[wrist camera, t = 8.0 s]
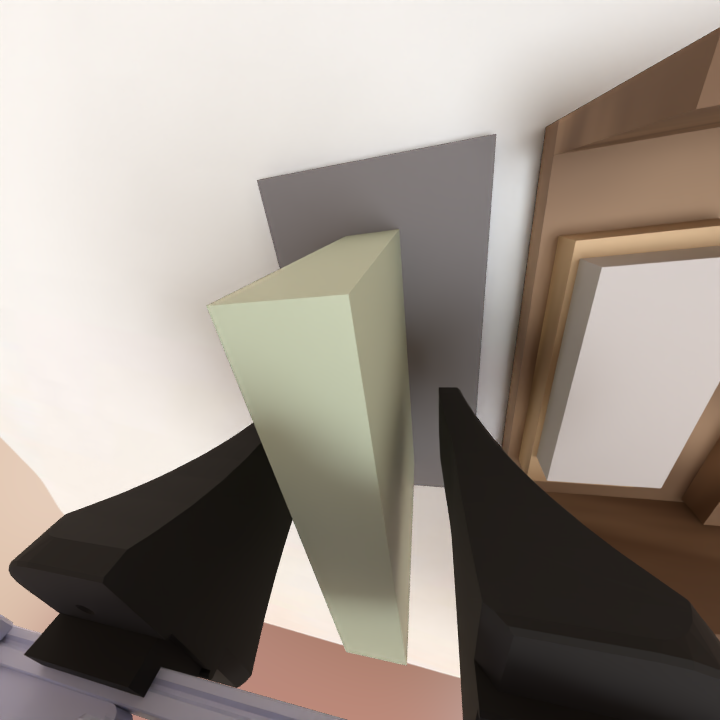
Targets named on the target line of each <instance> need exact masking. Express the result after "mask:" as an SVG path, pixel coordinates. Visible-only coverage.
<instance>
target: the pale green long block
mask: <svg viewBox="0 0 720 720" xmlns="http://www.w3.org/2000/svg"><path fill="white" fill-rule="evenodd" d="M207 309H208V311H209V314H210V316H211V319H212V321H213V324H214V326H215V328H216V331H217V333H218V336H219V338H220V341H221V343H222V346H223V348H224V351H225V353H226V356H227V358H228V361H229V363H230V366H231V368H232V371H233V373H234V376H235V378H236V380H237V383H238V385H239V388H240V390H241V393H242V395H243V398H244V400H245V403H246V405H247V408H248V410H249V413H250V415H251V418H252V420H253V423H254V425H255V427H256V430H257V432H258V435H259V437H260V440H261V442H262V445H263V447H264V450H265V452H266V455H267V457H268V460H269V462H270V465H271V467H272V470H273V472H274V474H275V477H276V479H277V482H278V484H279V487H280V489H281V492H282V494H283V497H284V499H285V502H286V504H287V507H288V509H289V512H290V514H291V517H292V519H293V522H294V524H295V526H296V529H297V531H298V534H299V536H300V539H301V541H302V544H303V546H304V549H305V551H306V554H307V556H308V559H309V561H310V564H311V566H312V569H313V571H314V573H315V576H316V578H317V581H318V583H319V586H320V588H321V591H322V593H323V596H324V598H325V601H326V603H327V606H328V608H329V611H330V613H331V616H332V618H333V620H334V623H335V625H336V628H337V630H338V633H339V635H340V638H341V640H342V643H343V645H344V648H345V650H346V652H349V653H354V654H358V655H362V656H367V657H371V658H376V659H380V660H385V661H389V662H393V663H398V664H402V665H407V646H408V620H409V594H410V568H411V541H412V515H413V489H414V449H413V434H412V418H411V403H410V387H409V371H408V356H407V340H406V325H405V309H404V294H403V278H402V263H401V247H400V232H399V229H396V230H389V231H381V232H374V233H366V234H358V235H351V236H345V237H343V238H341V239H339V240H337V241H335V242H333V243H331V244H329V245H327V246H325V247H323V248H321V249H319V250H317V251H315V252H313V253H311V254H309V255H307V256H305V257H303V258H301V259H299V260H297V261H295V262H293V263H291V264H289V265H287V266H285V267H283V268H281V269H279V270H277V271H275V272H273V273H271V274H269V275H267V276H265V277H263V278H261V279H259V280H257V281H255V282H253V283H251V284H249V285H247V286H245V287H243V288H241V289H239V290H237V291H235V292H233V293H231V294H229V295H227V296H225V297H223V298H221V299H219V300H217V301H215V302H213V303H211V304H209V305H207Z"/></svg>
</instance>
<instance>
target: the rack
mask: <svg viewBox="0 0 720 720" xmlns="http://www.w3.org/2000/svg"><path fill="white" fill-rule="evenodd" d="M716 218H720V28H718V29H716V30H714V31H713V32H711V33H709V34H707V35H706V36H704V37H702V38H700V39H699V40H697V41H695V42H693V43H692V44H690V45H688V46H686V47H685V48H683V49H681V50H680V51H678V52H676V53H674V54H673V55H671V56H669V57H667V58H666V59H664V60H662V61H660V62H659V63H657V64H655V65H653V66H652V67H650V68H648V69H646V70H645V71H643V72H641V73H639V74H638V75H636V76H634V77H632V78H631V79H629V80H627V81H625V82H624V83H622V84H620V85H618V86H617V87H615V88H613V89H612V90H610V91H608V92H606V93H605V94H603V95H601V96H599V97H598V98H596V99H594V100H592V101H591V102H589V103H587V104H585V105H584V106H582V107H580V108H578V109H577V110H575V111H573V112H571V113H570V114H568V115H566V116H564V117H563V118H561V119H559V120H557V121H556V122H554V123H552V124H550V125H549V126H547V127H546V130H545V137H544V145H543V152H542V159H541V166H540V174H539V181H538V188H537V196H536V203H535V210H534V218H533V225H532V232H531V239H530V247H529V254H528V261H527V269H526V276H525V283H524V290H523V298H522V305H521V312H520V320H519V327H518V334H517V341H516V349H515V356H514V363H513V371H512V378H511V385H510V393H509V400H508V407H507V414H506V422H505V429H504V436H503V444H502V449H503V450H504V451H505V452H506V454H507V455H508V456H509V457H510V458H511V459H512V460H513V461H514V462H515V463H516V464H517V465H518V466H519V467H520V468H521V469H522V467H521V464H520V462H519V454H520V449H521V443H522V438H523V432H524V426H525V421H526V415H527V410H528V404H529V399H530V393H531V388H532V382H533V376H534V371H535V365H536V360H537V354H538V349H539V343H540V337H541V332H542V326H543V321H544V315H545V310H546V304H547V299H548V293H549V287H550V282H551V276H552V271H553V265H554V260H555V254H556V248H557V243H558V237H559V236H563V235H572V234H581V233H590V232H599V231H608V230H617V229H626V228H635V227H644V226H653V225H662V224H671V223H680V222H689V221H698V220H707V219H716ZM534 482H535V483H536V484H537V485H538V486H539V487H540V488H541V489H543V490H544V491H545V492H546V493H547V494H548V495H549V496H550V497H551V498H553V499H554V500H555V501H556V502H557V503H559V504H560V505H561V506H562V507H563V508H565V509H566V510H567V511H568V512H569V513H570V514H572V515H573V516H574V517H575V518H576V519H578V520H579V521H580V522H581V523H582V524H583V525H585V526H586V527H587V528H589V529H590V530H591V531H593V532H594V533H595V534H597V535H598V536H599V537H600V538H602V539H603V540H604V541H606V542H607V543H608V544H610V545H611V546H612V547H613V548H615V549H616V550H618V551H619V552H620V553H622V554H623V555H624V556H626V557H627V558H629V559H630V560H632V561H633V562H635V563H636V564H637V565H639V566H640V567H642V568H643V569H645V570H646V571H647V572H649V573H650V574H652V575H653V576H655V577H656V578H657V579H659V580H660V581H662V582H663V583H665V584H666V585H667V586H669V587H670V588H672V589H673V590H675V591H676V592H677V593H679V594H680V595H682V596H683V597H685V598H686V599H687V600H689V601H690V602H691V604H692V605H693V607H694V608H695V609H696V611H697V612H698V614H699V615H700V616H701V617H702V619H703V620H704V621H705V622H706V624H707V625H708V626H709V628H710V629H711V630H712V631H713V633H714V634H715V635H716V637H717V638H718V639H719V641H720V382H719V384H718V386H717V387H716V389H715V391H714V393H713V395H712V397H711V398H710V400H709V402H708V404H707V406H706V407H705V409H704V411H703V413H702V415H701V417H700V418H699V420H698V422H697V424H696V426H695V427H694V429H693V431H692V433H691V435H690V437H689V438H688V440H687V442H686V444H685V446H684V448H683V449H682V451H681V453H680V455H679V457H678V458H677V460H676V462H675V464H674V466H673V468H672V469H671V471H670V473H669V475H668V477H667V478H666V480H665V482H664V484H663V486H662V488H648V487H620V486H605V485H590V484H575V483H561V482H546V481H534Z"/></svg>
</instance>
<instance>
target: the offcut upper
mask: <svg viewBox="0 0 720 720" xmlns="http://www.w3.org/2000/svg"><path fill="white" fill-rule="evenodd" d="M719 382H720V246H710V247H700V248H689V249H678V250H667V251H657V252H646V253H635V254H624V255H613V256H603V257H592V258H581V259H580V261H579V265H578V270H577V274H576V279H575V283H574V288H573V293H572V297H571V302H570V306H569V311H568V315H567V320H566V324H565V329H564V333H563V338H562V343H561V347H560V352H559V356H558V361H557V365H556V370H555V374H554V379H553V383H552V388H551V393H550V397H549V402H548V406H547V411H546V415H545V420H544V424H543V429H542V434H541V438H540V443H539V447H538V452H537V456H536V457H537V459H538V461H539V464H540V466H541V468H542V471H543V473H544V475H545V477H546V480H547V481H559V482H574V483H588V484H603V485H618V486H633V487H648V488H662V486H663V484H664V482H665V480H666V478H667V477H668V475H669V473H670V471H671V469H672V468H673V466H674V464H675V462H676V460H677V458H678V457H679V455H680V453H681V451H682V449H683V448H684V446H685V444H686V442H687V440H688V438H689V437H690V435H691V433H692V431H693V429H694V427H695V426H696V424H697V422H698V420H699V418H700V417H701V415H702V413H703V411H704V409H705V407H706V406H707V404H708V402H709V400H710V398H711V397H712V395H713V393H714V391H715V389H716V387H717V386H718V384H719Z"/></svg>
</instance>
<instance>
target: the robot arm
mask: <svg viewBox="0 0 720 720" xmlns="http://www.w3.org/2000/svg"><path fill="white" fill-rule="evenodd" d="M439 446H440V461H441V468H442V474H443V481H444V487H445V493H446V500H447V506H448V513H449V519H450V527H451V535H452V548H453V563H454V578H455V594H456V609H457V625H458V641H459V658H460V675H461V692H462V708H463V720H720V641H719V639H718V638H717V637H716V635H715V634H714V633H713V631H712V630H711V629H710V628H709V626H708V625H707V624H706V622H705V621H704V620H703V619H702V617H701V616H700V615H699V614H698V612H697V611H696V609H695V608H694V607H693V605H692V604H691V602H690V601H689V600H687V599H686V598H685V597H683V596H682V595H680V594H679V593H677V592H676V591H675V590H673V589H672V588H670V587H669V586H667V585H666V584H665V583H663V582H662V581H660V580H659V579H657V578H656V577H655V576H653V575H652V574H650V573H649V572H647V571H646V570H645V569H643V568H642V567H640V566H639V565H637V564H636V563H635V562H633V561H632V560H630V559H629V558H627V557H626V556H624V555H623V554H622V553H620V552H619V551H618V550H616V549H615V548H613V547H612V546H611V545H610V544H608V543H607V542H606V541H604V540H603V539H602V538H600V537H599V536H598V535H597V534H595V533H594V532H593V531H591V530H590V529H589V528H587V527H586V526H585V525H583V524H582V523H581V522H580V521H579V520H578V519H576V518H575V517H574V516H573V515H572V514H570V513H569V512H568V511H567V510H566V509H565V508H563V507H562V506H561V505H560V504H559V503H557V502H556V501H555V500H554V499H553V498H551V497H550V496H549V495H548V494H547V493H546V492H545V491H544V490H543V489H541V488H540V487H539V486H538V485H537V484H536V483H535V482H534V481H533V480H532V479H531V478H530V477H529V476H528V475H527V474H526V473H525V472H524V471H523V470H522V469H521V468H520V467H519V466H518V465H517V464H516V463H515V462H514V461H513V460H512V459H511V458H510V457H509V456H508V455H507V454H506V452H505V451H504V450H503V449H502V448H501V447H500V446H499V444H498V443H497V442H496V441H495V440H494V439H493V437H492V436H491V435H490V434H489V432H488V431H487V430H486V428H485V427H484V426H483V424H482V423H481V422H480V421H479V419H478V418H477V416H476V415H475V414H474V412H473V411H472V409H471V408H470V406H469V405H468V403H467V401H466V400H465V398H464V396H463V394H462V393H461V390H460V389H458V388H457V387H439ZM292 520H293V519H292V517H291V514H290V512H289V509H288V507H287V504H286V502H285V499H284V497H283V494H282V492H281V489H280V487H279V484H278V482H277V479H276V477H275V474H274V472H273V470H272V467H271V465H270V462H269V460H268V457H267V455H266V452H265V450H264V447H263V445H262V442H261V440H260V437H259V435H258V432H257V430H256V427H255V425H254V423H252V424H251V425H249V426H248V427H246V428H245V429H244V430H242V431H241V432H239V433H238V434H236V435H235V436H233V437H232V438H230V439H229V440H227V441H225V442H224V443H222V444H221V445H219V446H217V447H216V448H214V449H212V450H210V451H209V452H207V453H205V454H203V455H202V456H200V457H198V458H196V459H194V460H192V461H190V462H188V463H186V464H184V465H182V466H180V467H178V468H177V469H175V470H173V471H171V472H169V473H167V474H164V475H162V476H160V477H158V478H156V479H154V480H151V481H149V482H147V483H145V484H142V485H140V486H138V487H135V488H133V489H131V490H128V491H126V492H123V493H121V494H118V495H116V496H113V497H111V498H108V499H105V500H103V501H100V502H97V503H95V504H92V505H89V506H87V507H84V508H81V509H79V510H76V511H73V512H70V513H67V514H66V515H64V516H63V517H62V518H60V519H59V520H58V521H57V522H56V523H55V524H53V525H52V526H51V527H50V528H49V529H48V530H47V531H46V532H44V533H43V534H42V535H41V536H40V537H39V538H38V539H37V540H35V541H34V542H33V543H32V544H31V545H30V546H29V547H28V548H26V549H25V550H24V551H23V552H22V553H21V554H20V555H18V556H17V557H16V558H15V559H14V560H13V561H12V562H11V563H10V565H9V572H10V574H11V576H12V577H13V578H14V579H15V580H16V581H17V582H18V583H19V584H20V585H22V586H23V587H24V588H26V589H27V590H28V591H30V592H31V593H32V594H34V595H35V596H37V597H38V598H39V599H41V600H42V601H43V602H45V603H46V604H48V605H49V606H50V607H52V608H53V609H55V610H56V611H57V612H59V613H60V614H59V615H58V616H57V617H56V618H55V620H54V621H53V622H52V623H51V624H50V625H49V626H48V627H47V629H46V630H45V631H44V632H43V633H39V632H36V631H32V630H29V629H25V628H22V627H18V626H15V625H13V622H11V621H10V620H9V619H7V618H5V617H4V616H2V615H0V720H133V718H132V715H131V714H134V715H137V716H139V717H142V718H145V719H148V720H346V719H343V718H339V717H336V716H332V715H329V714H325V713H321V712H318V711H314V710H311V709H308V708H304V707H301V706H297V705H293V704H290V703H286V702H283V701H279V700H276V699H272V698H269V697H265V696H262V695H258V694H254V693H251V692H247V691H244V690H240V689H237V687H239V686H241V685H242V684H243V683H244V682H246V681H247V680H248V678H249V677H250V676H251V675H252V670H253V665H254V661H255V657H256V652H257V648H258V644H259V639H260V635H261V630H262V626H263V622H264V618H265V614H266V610H267V606H268V603H269V599H270V595H271V591H272V587H273V583H274V580H275V576H276V573H277V569H278V566H279V562H280V559H281V555H282V552H283V548H284V545H285V542H286V539H287V535H288V532H289V529H290V526H291V523H292ZM198 677H200V678H198ZM202 678H204V679H202ZM205 679H208V680H205ZM209 680H210V681H209ZM212 681H214V682H212ZM216 682H218V683H216ZM219 683H221V684H219ZM223 684H225V685H223ZM226 685H228V686H226ZM230 686H232V687H230ZM233 687H235V688H233ZM130 713H131V714H130Z"/></svg>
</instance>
